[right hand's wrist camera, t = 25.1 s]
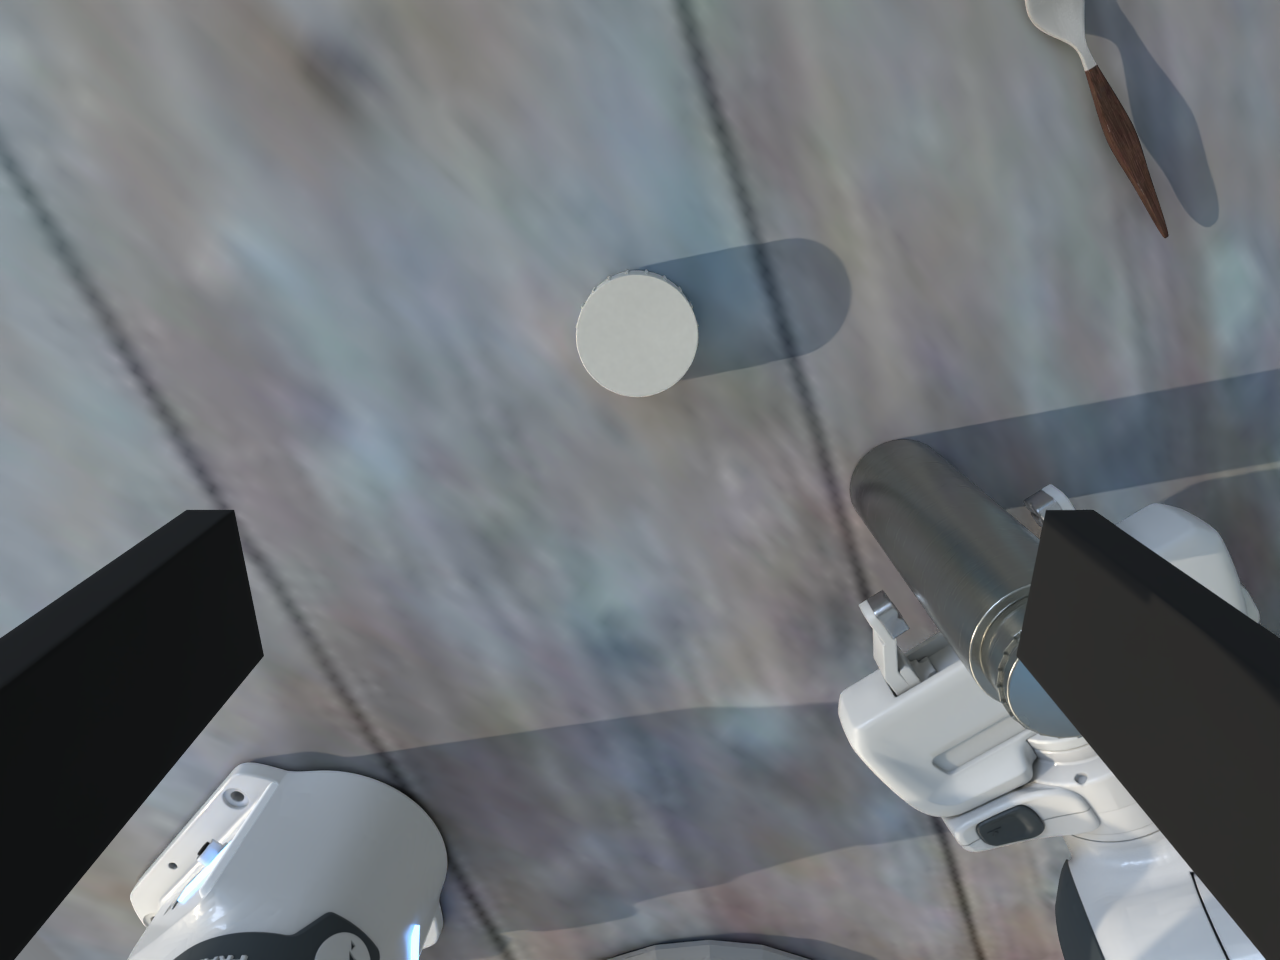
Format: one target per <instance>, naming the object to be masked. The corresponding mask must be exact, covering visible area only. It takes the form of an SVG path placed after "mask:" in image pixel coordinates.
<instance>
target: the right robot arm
mask: <svg viewBox="0 0 1280 960" xmlns="http://www.w3.org/2000/svg"><path fill="white" fill-rule="evenodd" d="M263 656H264V655H263V650H262V645H261V640H260V635H259V630H258V625H257V620H256V615H255V610H254V605H253V600H252V596H251V591H250V586H249V581H248V576H247V571H246V566H245V561H244V556H243V551H242V546H241V541H240V537H239V532H238V527H237V522H236V517H235V512H234V510H186V511H185V512H183V513H182V514H180V515H179V516H177V517H176V518H174V519H173V520H171V521H170V522H169V523H167V524H166V525H164V526H163V527H161V528H160V529H158V530H157V531H155V532H154V533H153V534H151V535H150V536H148V537H147V538H145V539H144V540H142V541H141V542H139V543H138V544H137V545H135V546H134V547H132V548H131V549H129V550H128V551H126V552H125V553H124V554H122V555H121V556H119V557H118V558H116V559H115V560H113V561H112V562H110V563H109V564H108V565H106V566H105V567H103V568H102V569H100V570H99V571H97V572H96V573H94V574H93V575H92V576H90V577H89V578H87V579H86V580H84V581H83V582H81V583H80V584H78V585H77V586H76V587H74V588H73V589H71V590H70V591H68V592H67V593H65V594H64V595H63V596H61V597H60V598H58V599H57V600H55V601H54V602H52V603H51V604H49V605H48V606H47V607H45V608H44V609H42V610H41V611H39V612H38V613H36V614H35V615H33V616H32V617H31V618H29V619H28V620H26V621H25V622H23V623H22V624H20V625H19V626H18V627H16V628H15V629H13V630H12V631H10V632H9V633H7V634H6V635H4V636H3V637H2V638H0V960H14V959H15V958H16V957H17V956H18V954H19V953H20V952H21V951H22V950H23V948H24V947H25V946H26V945H27V943H28V942H29V941H30V940H31V939H32V937H33V936H34V935H35V934H36V933H37V931H38V930H39V929H40V928H41V926H42V925H43V924H44V923H45V922H46V920H47V919H48V918H49V917H50V915H51V914H52V913H53V912H54V911H55V909H56V908H57V907H58V906H59V905H60V903H61V902H62V901H63V900H64V898H65V897H66V896H67V895H68V894H69V892H70V891H71V890H72V889H73V887H74V886H75V885H76V884H77V883H78V881H79V880H80V879H81V878H82V877H83V875H84V874H85V873H86V872H87V870H88V869H89V868H90V867H91V866H92V864H93V863H94V862H95V861H96V859H97V858H98V857H99V856H100V855H101V853H102V852H103V851H104V850H105V849H106V847H107V846H108V845H109V844H110V842H111V841H112V840H113V839H114V838H115V836H116V835H117V834H118V833H119V831H120V830H121V829H122V828H123V827H124V825H125V824H126V823H127V822H128V821H129V819H130V818H131V817H132V816H133V814H134V813H135V812H136V811H137V810H138V808H139V807H140V806H141V805H142V803H143V802H144V801H145V800H146V799H147V797H148V796H149V795H150V794H151V793H152V791H153V790H154V789H155V788H156V786H157V785H158V784H159V783H160V782H161V780H162V779H163V778H164V777H165V775H166V774H167V773H168V772H169V771H170V769H171V768H172V767H173V766H174V765H175V763H176V762H177V761H178V760H179V758H180V757H181V756H182V755H183V754H184V752H185V751H186V750H187V749H188V747H189V746H190V745H191V744H192V743H193V741H194V740H195V739H196V738H197V737H198V735H199V734H200V733H201V732H202V730H203V729H204V728H205V727H206V726H207V724H208V723H209V722H210V721H211V719H212V718H213V717H214V716H215V715H216V713H217V712H218V711H219V710H220V709H221V707H222V706H223V705H224V704H225V702H226V701H227V700H228V699H229V698H230V696H231V695H232V694H233V693H234V691H235V690H236V689H237V688H238V687H239V685H240V684H241V683H242V682H243V681H244V679H245V678H246V677H247V676H248V674H249V673H250V672H251V671H252V670H253V668H254V667H255V666H256V665H257V663H258V662H259V661H260V660H261V659H262V657H263ZM1016 656H1017V657H1018V659H1019V660H1020V661H1021V662H1022V663H1023V665H1024V666H1025V667H1026V668H1027V670H1028V671H1029V672H1030V673H1031V674H1032V676H1033V677H1034V678H1035V679H1036V681H1037V682H1038V683H1039V684H1040V685H1041V687H1042V688H1043V689H1044V690H1045V691H1046V693H1047V694H1048V695H1049V696H1050V698H1051V699H1052V700H1053V701H1054V702H1055V704H1056V705H1057V706H1058V707H1059V709H1060V710H1061V711H1062V712H1063V713H1064V715H1065V716H1066V717H1067V718H1068V719H1069V721H1070V722H1071V723H1072V724H1073V726H1074V727H1075V728H1076V729H1077V730H1078V732H1079V733H1080V734H1081V735H1082V737H1083V738H1084V739H1085V740H1086V741H1087V743H1088V744H1089V745H1090V746H1091V747H1092V749H1093V750H1094V751H1095V752H1096V754H1097V755H1098V756H1099V757H1100V758H1101V760H1102V761H1103V762H1104V763H1105V765H1106V766H1107V767H1108V768H1109V769H1110V771H1111V772H1112V773H1113V774H1114V775H1115V777H1116V778H1117V779H1118V780H1119V782H1120V783H1121V784H1122V785H1123V786H1124V788H1125V789H1126V790H1127V791H1128V793H1129V794H1130V795H1131V796H1132V797H1133V799H1134V800H1135V801H1136V802H1137V803H1138V805H1139V806H1140V807H1141V808H1142V810H1143V811H1144V812H1145V813H1146V814H1147V816H1148V817H1149V818H1150V819H1151V821H1152V822H1153V823H1154V824H1155V825H1156V827H1157V828H1158V829H1159V830H1160V831H1161V833H1162V834H1163V835H1164V836H1165V838H1166V839H1167V840H1168V841H1169V842H1170V844H1171V845H1172V846H1173V847H1174V849H1175V850H1176V851H1177V852H1178V853H1179V855H1180V856H1181V857H1182V858H1183V859H1184V861H1185V862H1186V863H1187V864H1188V866H1189V867H1190V868H1191V869H1192V870H1193V872H1194V873H1195V874H1196V875H1197V877H1198V878H1199V879H1200V880H1201V881H1202V883H1203V884H1204V885H1205V886H1206V887H1207V889H1208V890H1209V891H1210V892H1211V894H1212V895H1213V896H1214V897H1215V898H1216V900H1217V901H1218V902H1219V903H1220V905H1221V906H1222V907H1223V908H1224V909H1225V911H1226V912H1227V913H1228V914H1229V915H1230V917H1231V918H1232V919H1233V920H1234V922H1235V923H1236V924H1237V925H1238V926H1239V928H1240V929H1241V930H1242V931H1243V933H1244V934H1245V935H1246V936H1247V937H1248V939H1249V940H1250V941H1251V942H1252V943H1253V945H1254V946H1255V947H1256V948H1257V950H1258V951H1259V952H1260V953H1261V954H1262V956H1263V957H1264V958H1265V959H1266V960H1280V638H1278V637H1277V636H1276V635H1274V634H1273V633H1271V632H1270V631H1268V630H1267V629H1265V628H1264V627H1262V626H1261V625H1260V624H1258V623H1257V622H1255V621H1254V620H1252V619H1251V618H1249V617H1248V616H1247V615H1245V614H1244V613H1242V612H1241V611H1239V610H1238V609H1236V608H1235V607H1233V606H1232V605H1231V604H1229V603H1228V602H1226V601H1225V600H1223V599H1222V598H1220V597H1219V596H1217V595H1216V594H1215V593H1213V592H1212V591H1210V590H1209V589H1207V588H1206V587H1204V586H1203V585H1202V584H1200V583H1199V582H1197V581H1196V580H1194V579H1193V578H1191V577H1190V576H1188V575H1187V574H1186V573H1184V572H1183V571H1181V570H1180V569H1178V568H1177V567H1175V566H1174V565H1172V564H1171V563H1170V562H1168V561H1167V560H1165V559H1164V558H1162V557H1161V556H1159V555H1158V554H1156V553H1155V552H1154V551H1152V550H1151V549H1149V548H1148V547H1146V546H1145V545H1143V544H1142V543H1141V542H1139V541H1138V540H1136V539H1135V538H1133V537H1132V536H1130V535H1129V534H1127V533H1126V532H1125V531H1123V530H1122V529H1120V528H1119V527H1117V526H1116V525H1114V524H1113V523H1111V522H1110V521H1109V520H1107V519H1106V518H1104V517H1103V516H1101V515H1100V514H1098V513H1097V512H1095V511H1094V510H1046V512H1045V517H1044V522H1043V527H1042V532H1041V537H1040V542H1039V546H1038V551H1037V556H1036V561H1035V566H1034V571H1033V576H1032V581H1031V586H1030V591H1029V596H1028V600H1027V605H1026V610H1025V615H1024V620H1023V625H1022V630H1021V635H1020V640H1019V645H1018V650H1017V655H1016Z"/></svg>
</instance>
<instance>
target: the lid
mask: <svg viewBox="0 0 1280 960" xmlns="http://www.w3.org/2000/svg"><path fill="white" fill-rule="evenodd" d="M692 308H693V306H692V304H691V302H689V301H688V300H687V298H686V296H685V295H684V294H683V292H682V290H681V287H680V286H679V287H677V286H676V285H675V284H674V283H673V282H671V281H670V280H668V279H667V278H666V276H665V275H663V276H661V275H659V274H656V273H653V272H649V271H648V270H646V269H645V271H641V270H634V271H629V270H626V272H622V273H619V274H616V275H614V276H612V277H611V276H608V279H606V280H605V281H603V282H602V283H601V284H600V285H598V286H597V287H594V288H593V290H592V293H591V295H590V296H589V297H588V299H587V301H586V303H583V305H582V307H581V309H582V311H581V313H580V316H579V319H578V322H577V324H576V328H577V330H576V341H577V345H576V346H577V348H578V352H579V355H580V358H581V360H582V363H583V365H584V366H585V368H586V370H587V371H588V373H589V374H590V375H591V376H592V377H593V378H594V379H595V380H596V381H597V382H598V383H599V384H600V385H602V386H603V387H605V388H606V389H608V390H610V391H612V392H615V393H617V394H620V395H624V396H630V397H645V396H651V395H654V394H658V393H660V392H662V391H665V390H667V389H668V388H670V387H672V386H673V385H674V384H675V383H677V382H678V381H679V380H680V379H681V378H682V377H683V376H684V375H685V373H686V372H687V371H688V369H689V367H690V366H691V364H692V362H693V360H694V357H695V354H696V351H697V346H698V327H699V324H698V322H697V320H696V317H695V314H694V312H693V309H692Z"/></svg>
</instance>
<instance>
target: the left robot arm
mask: <svg viewBox="0 0 1280 960" xmlns="http://www.w3.org/2000/svg"><path fill="white" fill-rule="evenodd" d="M1023 502H1024V504H1025V506H1026V507H1027V508H1028V509H1029V510H1030V511H1031V515H1032V516H1033V518H1034V519H1035V521H1036V522H1037V524H1038V525H1039V526H1041V527H1043V522H1044V517H1045V512H1046V510H1076V509H1075V508H1074V506H1073V505H1072V503H1071V501H1070V500H1069V499H1068V497H1067V496H1066V495H1065V494H1064V493H1063V492H1062V491H1060V490H1059V489H1058V488H1056V487H1055V486H1053V485H1052V484H1049V485H1047V486H1046V487H1044V488H1043V489H1041V490H1040V491H1038V492H1037V493H1035V494H1033V495H1032V496H1030V497H1029V498H1027V499H1026V500H1024V501H1023ZM1116 526H1117V527H1119V528H1120V529H1122V530H1123V531H1125V532H1126V533H1127V534H1129V535H1130V536H1132V537H1133V538H1135V539H1136V540H1138V541H1139V542H1141V543H1142V544H1143V545H1145V546H1146V547H1148V548H1149V549H1151V550H1152V551H1154V552H1155V553H1156V554H1158V555H1159V556H1161V557H1162V558H1164V559H1165V560H1167V561H1168V562H1170V563H1171V564H1172V565H1174V566H1175V567H1177V568H1178V569H1180V570H1181V571H1183V572H1184V573H1186V574H1187V575H1188V576H1190V577H1191V578H1193V579H1194V580H1196V581H1197V582H1199V583H1200V584H1202V585H1203V586H1204V587H1206V588H1207V589H1209V590H1210V591H1212V592H1213V593H1215V594H1216V595H1217V596H1219V597H1220V598H1222V599H1223V600H1225V601H1226V602H1228V603H1229V604H1231V605H1232V606H1233V607H1235V608H1236V609H1238V610H1239V611H1241V612H1242V613H1244V614H1245V615H1247V616H1248V617H1249V618H1251V619H1252V620H1254V621H1255V622H1257V623H1259V621H1260V615H1259V611H1258V609H1257V607H1256V605H1255V603H1254V602H1253V600H1252V598H1251V596H1250V594H1249V593H1248V591H1247V589H1246V588H1245V587H1244V586H1243V584H1241V583H1240V580H1239V577H1238V575H1237V572H1236V569H1235V566H1234V564H1233V561H1232V559H1231V556H1230V554H1229V552H1228V550H1227V547H1226V545H1225V543H1224V541H1223V539H1222V538H1221V536H1220V535H1219V533H1218V532H1217V531H1216V530H1215V529H1214V528H1213V527H1211V526H1210V525H1209V524H1207V523H1206V522H1205V521H1203V520H1201V519H1200V518H1198V517H1197V516H1195V515H1193V514H1191V513H1189V512H1187V511H1185V510H1183V509H1181V508H1178V507H1174V506H1170V505H1165V504H1160V503H1153V504H1150V505H1148V506H1146V507H1144V508H1142V509H1141V510H1139V511H1138V512H1136V513H1134V514H1133V515H1131V516H1129V517H1128V518H1126V519H1124V520H1123V521H1121V522H1120V523H1118V524H1116ZM859 607H860V609H861V611H862V613H863V614H864V616H865V618H866V619H867V621H868V622H869V624H870V625H871V627H872V628H873V657H874V659H875V661H876V663H877V665H878V667H879V669H878V670H876V671H874V672H873V673H871V674H870V675H868V676H866V677H865V678H863V679H861V680H860V681H858V682H856V683H855V684H853V685H851V686H850V687H848V688H846V689H845V690H843V691H842V693H841V694H840V698H839V706H838V714H839V718H840V721H841V724H842V727H843V729H844V732H845V734H846V736H847V738H848V741H849V742H850V744H851V746H852V748H853V749H854V751H855V752H856V753H857V755H858V756H859V757H860V758H861V759H862V761H863V762H864V763H865V764H866V765H867V766H868V767H869V768H870V769H871V770H872V771H873V772H874V773H875V774H876V775H877V776H878V777H879V778H880V779H881V780H882V781H883V782H884V783H885V784H886V785H887V786H888V787H889V788H890V789H891V790H892V791H893V792H894V793H896V794H897V795H898V796H899V797H900V798H902V799H903V800H904V801H905V802H906V803H908V804H909V805H910V806H912V807H913V808H915V809H916V810H918V811H920V812H922V813H925V814H927V815H931V816H936V817H942V819H943V821H944V822H945V824H946V826H947V827H948V829H949V830H950V832H951V833H952V834H953V836H954V837H955V839H956V840H957V841H958V843H959V844H960V845H961V846H962V847H963V848H964V849H965V850H967V851H970V852H982V851H987V850H991V849H995V848H999V847H1003V846H1007V845H1011V844H1015V843H1020V842H1025V841H1029V840H1035V839H1041V838H1048V837H1055V836H1063V838H1064V840H1065V842H1066V844H1067V846H1068V848H1069V850H1070V852H1071V854H1072V857H1071V859H1070V860H1066V861H1065V863H1064V865H1063V868H1062V871H1061V874H1060V879H1059V885H1058V891H1057V898H1056V904H1055V914H1056V924H1057V931H1058V936H1059V941H1060V945H1061V949H1062V952H1063V956H1064V959H1065V960H1266V959H1265V958H1264V957H1263V956H1262V954H1261V953H1260V952H1259V951H1258V950H1257V948H1256V947H1255V946H1254V945H1253V943H1252V942H1251V941H1250V940H1249V939H1248V937H1247V936H1246V935H1245V934H1244V933H1243V931H1242V930H1241V929H1240V928H1239V926H1238V925H1237V924H1236V923H1235V922H1234V920H1233V919H1232V918H1231V917H1230V915H1229V914H1228V913H1227V912H1226V911H1225V909H1224V908H1223V907H1222V906H1221V905H1220V903H1219V902H1218V901H1217V900H1216V898H1215V897H1214V896H1213V895H1212V894H1211V892H1210V891H1209V890H1208V889H1207V887H1206V886H1205V885H1204V884H1203V883H1202V881H1201V880H1200V879H1199V878H1198V877H1197V875H1196V874H1195V873H1194V872H1193V870H1192V869H1191V868H1190V867H1189V866H1188V864H1187V863H1186V862H1185V861H1184V859H1183V858H1182V857H1181V856H1180V855H1179V853H1178V852H1177V851H1176V850H1175V849H1174V847H1173V846H1172V845H1171V844H1170V842H1169V841H1168V840H1167V839H1166V838H1165V836H1164V835H1163V834H1162V833H1161V831H1160V830H1159V829H1158V828H1157V827H1156V825H1155V824H1154V823H1153V822H1152V821H1151V819H1150V818H1149V817H1148V816H1147V814H1146V813H1145V812H1144V811H1143V810H1142V808H1141V807H1140V806H1139V805H1138V803H1137V802H1136V801H1135V800H1134V799H1133V797H1132V796H1131V795H1130V794H1129V793H1128V791H1127V790H1126V789H1125V788H1124V786H1123V785H1122V784H1121V783H1120V782H1119V780H1118V779H1117V778H1116V777H1115V775H1114V774H1113V773H1112V772H1111V771H1110V769H1109V768H1108V767H1107V766H1106V765H1105V763H1104V762H1103V761H1102V760H1101V758H1100V757H1099V756H1098V755H1097V754H1096V752H1095V751H1094V750H1093V749H1092V747H1091V746H1090V745H1089V744H1088V743H1087V741H1086V740H1085V739H1084V738H1083V737H1081V738H1077V737H1072V738H1061V739H1058V738H1056V737H1049V736H1042V735H1040V734H1039V733H1036V732H1034V731H1031V730H1028V729H1025V728H1024V727H1023V726H1022V725H1021V724H1019V723H1018V722H1017V721H1015V720H1014V719H1013V718H1011V716H1010V715H1009V714H1008V712H1007V711H1006V709H1005V708H1004V706H1003V705H1002V703H1000V702H998V701H996V700H994V699H993V698H991V697H990V696H988V695H987V694H986V693H985V692H984V691H983V690H982V689H981V688H980V687H979V686H978V684H977V683H976V682H975V680H974V679H973V677H972V676H971V675H970V673H969V672H968V670H967V669H966V667H965V666H964V665H963V663H962V662H961V660H960V659H959V657H958V656H957V655H956V653H955V652H954V650H953V649H952V647H951V646H950V645H949V643H948V642H947V640H946V639H945V637H944V636H943V635H942V633H941V632H939V633H937V634H935V635H934V636H932V637H930V638H929V639H927V640H926V641H924V642H922V643H921V644H919V645H917V646H916V647H914V648H912V649H911V650H909V651H907V652H906V653H903V652H902V651H901V650H900V648H899V647H898V646H897V641H896V637H897V636H899V635H900V634H902V633H904V632H905V631H907V630H908V629H909V627H908V625H907V624H906V622H905V620H904V619H903V618H902V615H901V614H900V612H899V611H898V609H897V608H896V607H895V605H894V604H893V603H892V602H891V601H890V599H889V598H888V596H887V595H886V593H885V592H884V591H883V590H882V591H880V592H878V593H877V594H875V595H873V596H872V597H870V598H868V599H867V600H866V601H864V602H862V603H861V604H859ZM240 792H241V793H240ZM446 874H447V852H446V848H445V844H444V841H443V838H442V836H441V834H440V832H439V830H438V828H437V826H436V825H435V823H434V822H433V821H432V819H431V818H430V817H429V815H428V814H427V813H426V812H425V811H424V810H423V809H422V808H421V807H420V806H419V805H418V804H417V803H415V802H414V801H413V800H412V799H410V798H409V797H408V796H406V795H405V794H403V793H402V792H400V791H399V790H397V789H395V788H393V787H391V786H389V785H387V784H385V783H383V782H380V781H378V780H375V779H372V778H370V777H366V776H363V775H359V774H354V773H349V772H342V771H330V770H320V771H287V770H283V769H280V768H276V767H272V766H269V765H264V764H260V763H252V762H247V763H242V764H240V765H238V766H237V767H236V768H235V769H234V770H233V771H232V772H231V773H230V774H229V776H228V777H227V778H226V779H225V780H224V781H223V783H222V784H221V785H220V786H219V787H218V788H217V790H216V791H215V792H214V793H213V794H212V795H211V797H210V798H209V799H208V800H207V801H206V802H205V804H204V805H203V806H202V807H201V808H200V809H199V810H198V812H197V813H196V814H195V815H194V816H193V817H192V819H191V820H190V821H189V822H188V823H187V824H186V826H185V827H184V828H183V829H182V830H181V831H180V833H179V834H178V835H177V836H176V837H175V838H174V840H173V841H172V842H171V843H170V844H169V845H168V847H167V848H166V849H165V850H164V851H163V852H162V854H161V855H160V856H159V857H158V858H157V859H156V861H155V862H154V863H153V864H152V865H151V866H150V867H149V869H148V870H147V871H146V872H145V873H144V875H143V876H142V877H141V878H140V879H139V881H138V883H137V884H136V886H135V887H134V889H133V891H132V892H131V895H130V899H131V902H132V905H133V907H134V909H135V911H136V913H137V915H138V917H139V918H140V920H141V921H142V923H143V924H144V925H145V927H146V928H147V929H146V930H145V932H144V933H143V935H142V936H141V938H140V940H139V941H138V943H137V944H136V946H135V947H134V949H133V951H132V952H131V954H130V956H129V958H128V960H418V959H419V957H420V954H421V951H422V949H424V948H427V947H430V946H432V945H433V944H435V943H436V942H437V940H438V938H439V936H440V933H441V931H442V928H443V915H442V911H441V906H440V903H439V899H440V893H441V890H442V887H443V884H444V881H445V878H446Z"/></svg>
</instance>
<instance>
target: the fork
mask: <svg viewBox="0 0 1280 960" xmlns="http://www.w3.org/2000/svg"><path fill="white" fill-rule="evenodd" d="M1025 4H1026V10H1027V13H1028V16H1029V18H1030V20H1031V21H1032V23H1033V24H1034V25H1035V26H1036V27H1037V28H1038V29H1039V30H1041V31H1042V32H1044V33H1046V34H1048V35H1050V36H1052V37H1054V38H1057V39H1059V40H1061V41H1063V42H1065V43H1067V44H1069V45H1070V46H1072V47H1073V48H1074V49H1075V50H1076V51H1077V52H1078V54H1079V56H1080V58H1081V61H1082V64H1083V67H1084V70H1085V73H1086V76H1087V80H1088V83H1089V86H1090V90H1091V93H1092V97H1093V100H1094V104H1095V107H1096V110H1097V114H1098V117H1099V120H1100V123H1101V126H1102V129H1103V132H1104V135H1105V137H1106V139H1107V142H1108V144H1109V146H1110V148H1111V150H1112V152H1113V153H1114V155H1115V157H1116V158H1117V160H1118V162H1119V163H1120V165H1121V167H1122V168H1123V170H1124V171H1125V173H1126V175H1127V176H1128V178H1129V179H1130V181H1131V183H1132V184H1133V186H1134V188H1135V189H1136V191H1137V193H1138V195H1139V196H1140V198H1141V200H1142V202H1143V204H1144V205H1145V207H1146V209H1147V211H1148V213H1149V214H1150V216H1151V218H1152V220H1153V221H1154V223H1155V225H1156V226H1157V228H1158V230H1159V231H1160V233H1161V234H1162V236H1163V237H1164V238H1167V237H1168V231H1167V227H1166V223H1165V220H1164V217H1163V213H1162V210H1161V207H1160V204H1159V201H1158V198H1157V195H1156V192H1155V189H1154V186H1153V183H1152V180H1151V177H1150V174H1149V170H1148V167H1147V164H1146V160H1145V157H1144V154H1143V151H1142V147H1141V144H1140V141H1139V139H1138V136H1137V133H1136V131H1135V129H1134V126H1133V124H1132V122H1131V120H1130V118H1129V117H1128V115H1127V113H1126V111H1125V110H1124V108H1123V106H1122V105H1121V103H1120V101H1119V100H1118V98H1117V96H1116V95H1115V93H1114V91H1113V90H1112V88H1111V87H1110V85H1109V83H1108V82H1107V80H1106V78H1105V77H1104V75H1103V74H1102V72H1101V70H1100V69H1099V67H1098V65H1097V64H1096V62H1095V60H1094V58H1093V57H1092V55H1091V53H1090V51H1089V49H1088V46H1087V43H1086V38H1085V0H1025Z"/></svg>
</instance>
